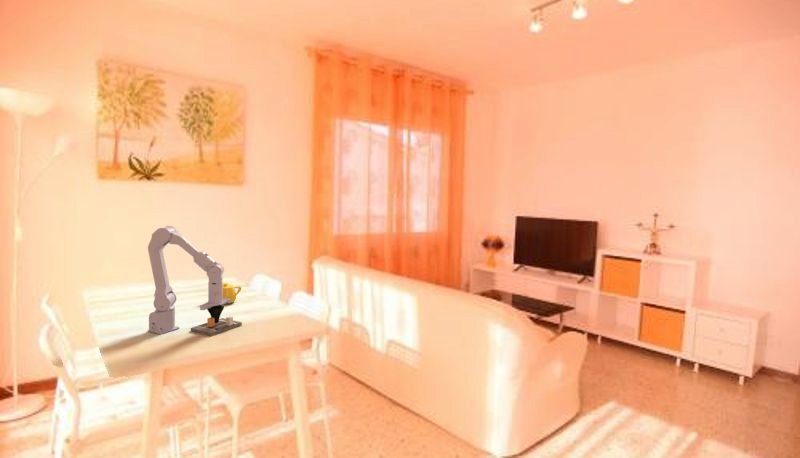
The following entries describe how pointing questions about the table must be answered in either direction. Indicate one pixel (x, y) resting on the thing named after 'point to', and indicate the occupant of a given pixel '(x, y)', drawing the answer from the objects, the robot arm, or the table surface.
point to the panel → (217, 327)
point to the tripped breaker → (210, 322)
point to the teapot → (230, 292)
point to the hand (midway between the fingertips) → (215, 322)
